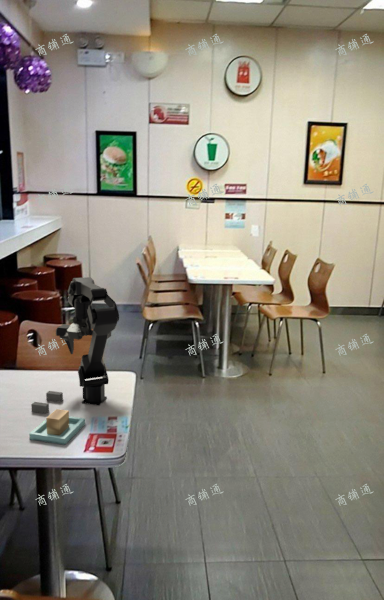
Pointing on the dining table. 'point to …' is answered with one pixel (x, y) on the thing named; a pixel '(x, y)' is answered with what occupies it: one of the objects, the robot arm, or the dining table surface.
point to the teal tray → (42, 435)
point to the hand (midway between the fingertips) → (84, 355)
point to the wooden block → (57, 422)
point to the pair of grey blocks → (44, 406)
